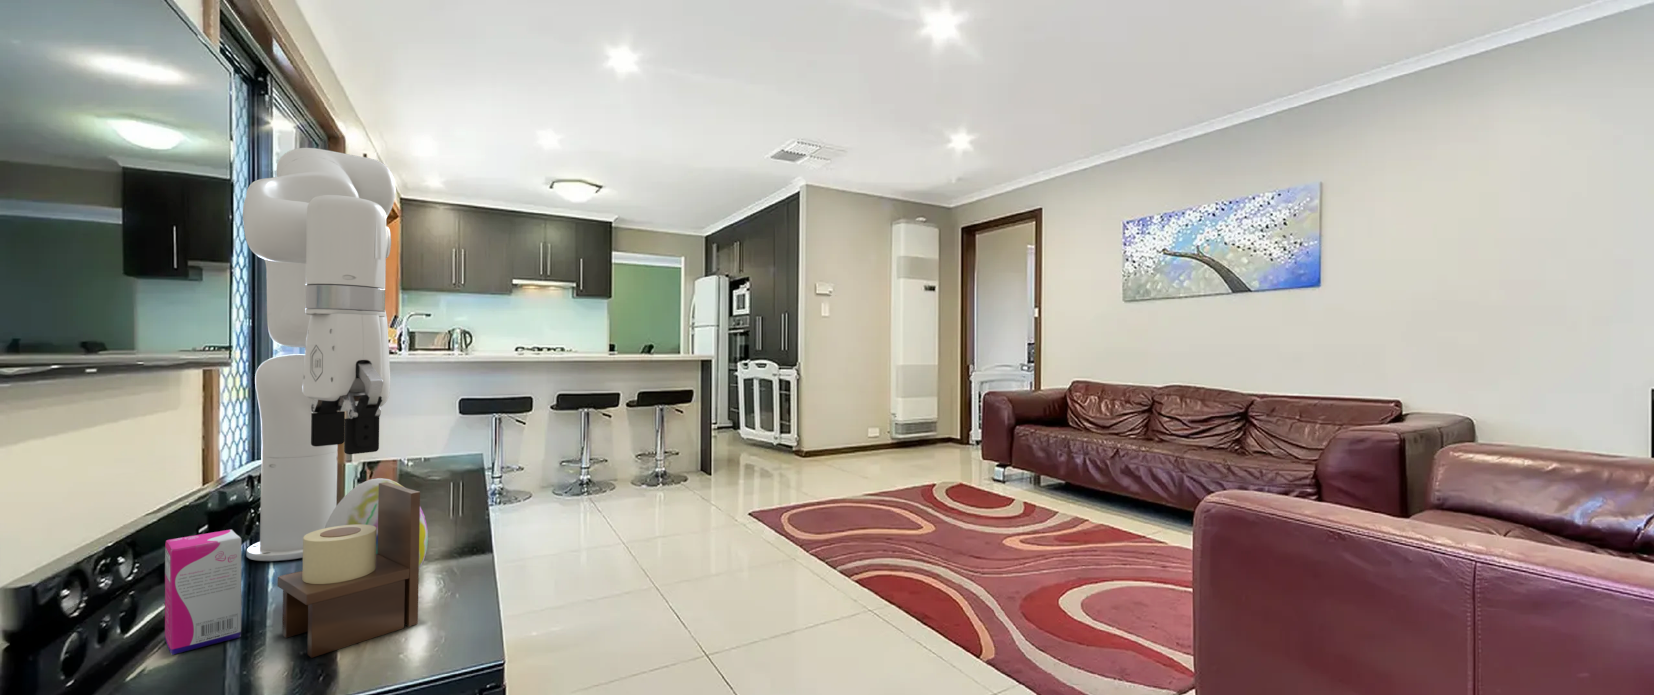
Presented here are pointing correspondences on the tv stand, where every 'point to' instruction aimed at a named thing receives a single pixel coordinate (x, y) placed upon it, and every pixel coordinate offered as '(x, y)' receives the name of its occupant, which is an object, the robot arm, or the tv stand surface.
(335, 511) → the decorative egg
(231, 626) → the supplement box
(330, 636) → the wooden toy chair
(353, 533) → the tape roll
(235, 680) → the tv stand surface
